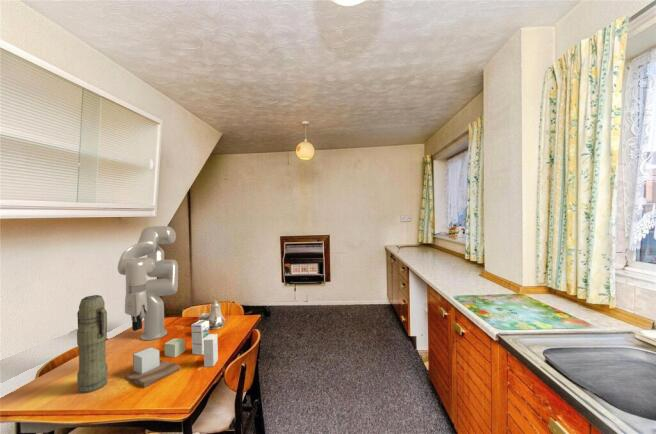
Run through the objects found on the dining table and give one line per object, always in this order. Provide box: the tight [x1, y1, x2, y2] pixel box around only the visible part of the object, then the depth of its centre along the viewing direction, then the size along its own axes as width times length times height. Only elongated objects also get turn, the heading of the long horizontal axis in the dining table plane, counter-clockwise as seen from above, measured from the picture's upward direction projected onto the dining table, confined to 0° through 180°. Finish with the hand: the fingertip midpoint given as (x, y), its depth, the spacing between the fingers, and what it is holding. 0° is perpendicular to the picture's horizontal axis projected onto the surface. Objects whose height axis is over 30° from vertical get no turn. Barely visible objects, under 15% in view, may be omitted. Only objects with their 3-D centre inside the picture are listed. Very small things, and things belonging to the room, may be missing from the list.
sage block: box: [164, 337, 186, 358], centre depth 132 cm, size 6×6×6 cm
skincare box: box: [203, 333, 219, 368], centre depth 122 cm, size 6×4×12 cm
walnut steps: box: [124, 359, 180, 389], centre depth 115 cm, size 14×14×2 cm
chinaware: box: [197, 299, 226, 330], centre depth 164 cm, size 28×17×17 cm, turn 24°
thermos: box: [76, 294, 109, 394], centre depth 107 cm, size 9×12×35 cm
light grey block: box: [132, 346, 160, 374], centre depth 117 cm, size 7×7×7 cm
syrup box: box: [191, 319, 210, 356], centre depth 134 cm, size 6×6×14 cm
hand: (137, 329), depth 122 cm, fingers closed
